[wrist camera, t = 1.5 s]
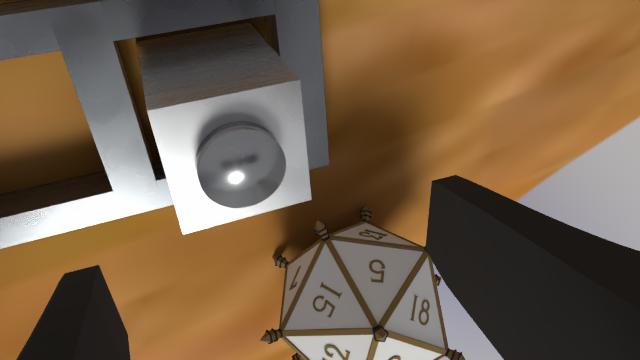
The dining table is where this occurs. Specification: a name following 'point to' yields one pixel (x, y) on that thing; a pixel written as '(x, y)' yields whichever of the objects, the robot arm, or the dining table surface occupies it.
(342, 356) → the game die
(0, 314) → the dining table surface
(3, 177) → the dining table surface
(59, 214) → the metal frame
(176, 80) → the grey knob block
